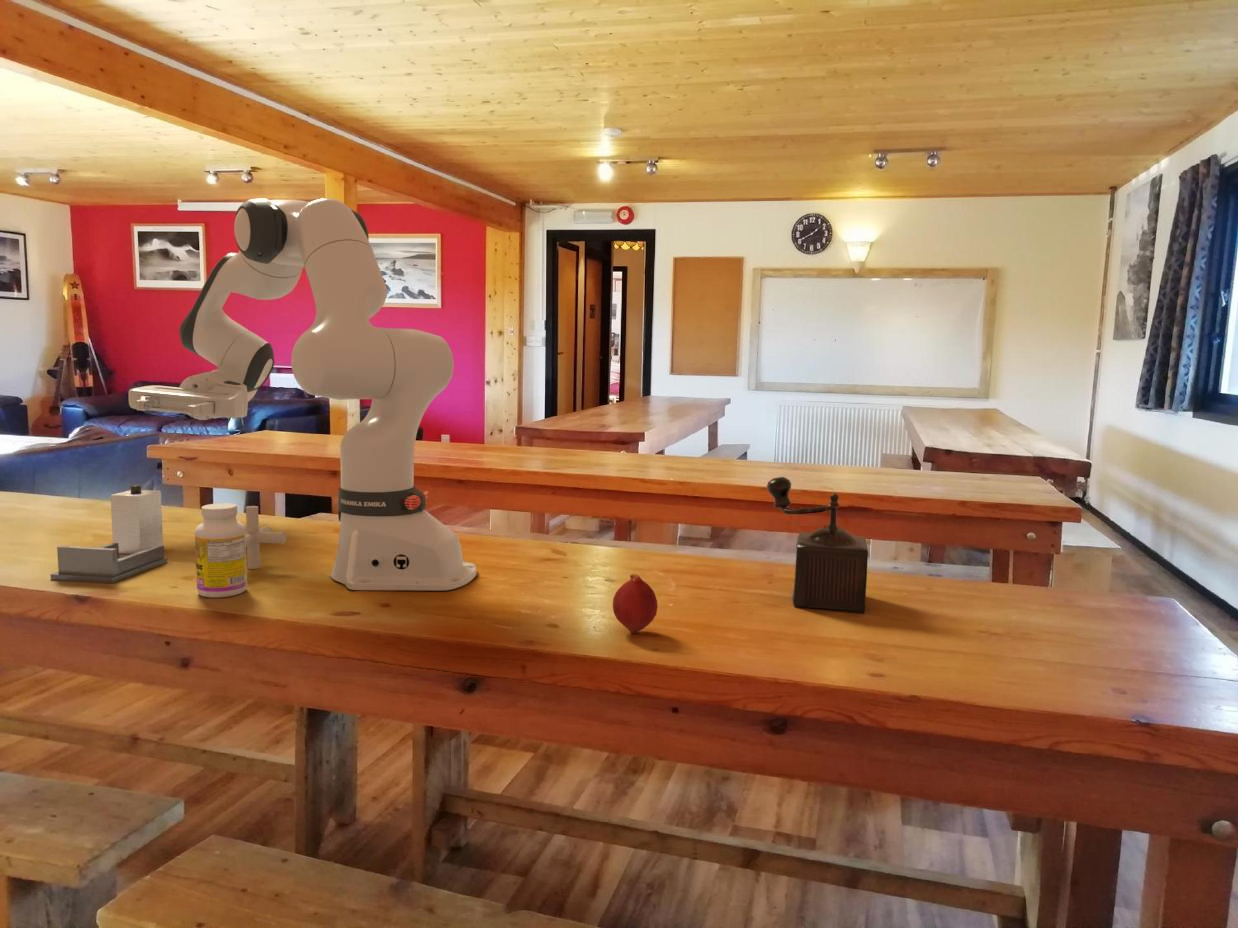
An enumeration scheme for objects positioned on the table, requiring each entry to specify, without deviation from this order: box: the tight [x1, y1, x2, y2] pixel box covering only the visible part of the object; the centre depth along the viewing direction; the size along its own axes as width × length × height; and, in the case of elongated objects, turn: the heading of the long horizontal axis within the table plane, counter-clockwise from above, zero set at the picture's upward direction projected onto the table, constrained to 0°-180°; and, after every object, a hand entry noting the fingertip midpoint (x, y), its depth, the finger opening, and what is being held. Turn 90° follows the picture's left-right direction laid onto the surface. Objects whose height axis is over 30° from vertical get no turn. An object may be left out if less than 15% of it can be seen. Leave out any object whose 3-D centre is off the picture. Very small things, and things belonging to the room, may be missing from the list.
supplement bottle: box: [194, 502, 248, 599], centre depth 125 cm, size 7×7×13 cm
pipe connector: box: [245, 505, 287, 570], centre depth 140 cm, size 10×10×10 cm
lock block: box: [110, 484, 164, 555], centre depth 149 cm, size 5×6×11 cm
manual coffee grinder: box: [766, 476, 869, 614], centre depth 130 cm, size 16×11×18 cm
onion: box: [612, 573, 659, 634], centre depth 113 cm, size 6×6×8 cm
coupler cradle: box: [50, 542, 168, 584], centre depth 136 cm, size 10×13×5 cm
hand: (165, 408), depth 157 cm, fingers open, 8 cm apart
